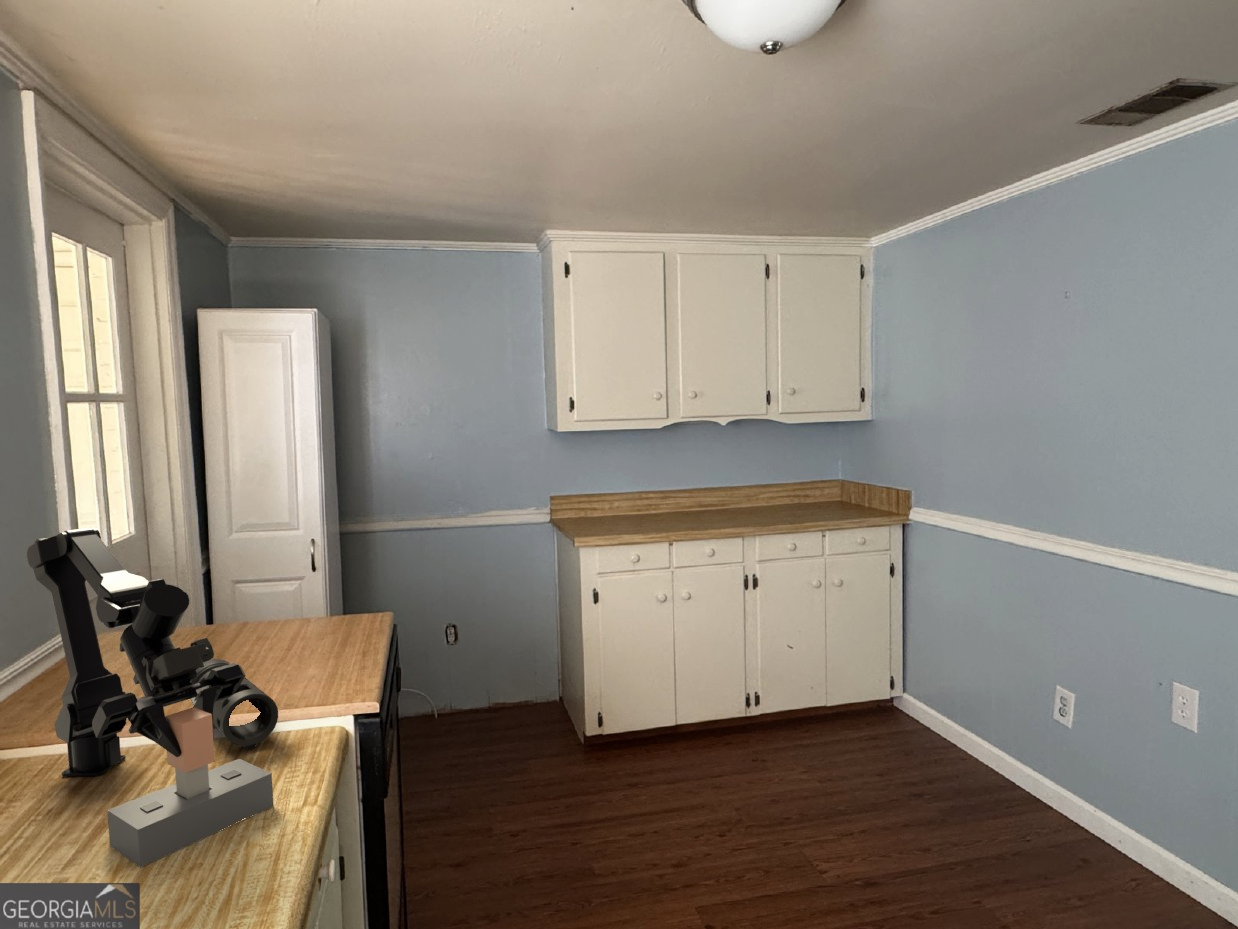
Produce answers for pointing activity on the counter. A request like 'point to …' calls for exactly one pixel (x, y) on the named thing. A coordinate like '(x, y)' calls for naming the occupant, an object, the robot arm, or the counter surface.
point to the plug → (192, 750)
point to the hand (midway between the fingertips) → (195, 749)
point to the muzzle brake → (246, 691)
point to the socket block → (188, 813)
